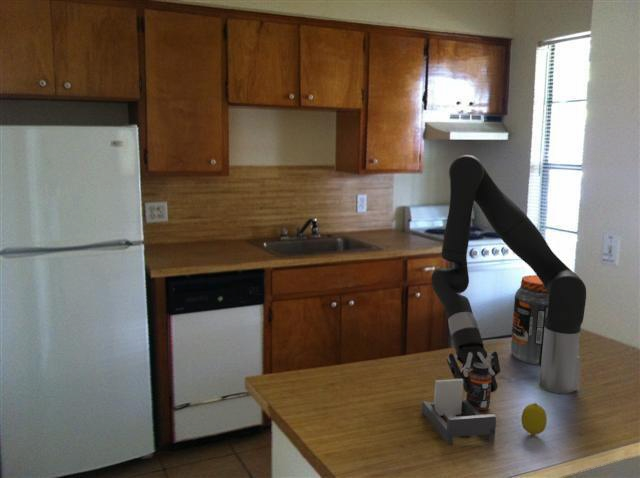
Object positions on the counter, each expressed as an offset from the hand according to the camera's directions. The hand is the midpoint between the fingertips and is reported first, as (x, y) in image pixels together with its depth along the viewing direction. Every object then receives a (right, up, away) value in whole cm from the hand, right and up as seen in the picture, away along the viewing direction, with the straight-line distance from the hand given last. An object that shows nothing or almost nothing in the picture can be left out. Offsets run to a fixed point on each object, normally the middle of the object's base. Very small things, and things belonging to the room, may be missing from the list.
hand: (482, 391), depth 148 cm
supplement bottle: (0, -5, +2) cm, 5 cm away
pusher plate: (-9, -6, -8) cm, 13 cm away
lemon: (+9, -7, -12) cm, 16 cm away
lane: (-8, -6, -8) cm, 13 cm away
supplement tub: (+28, +1, +38) cm, 47 cm away
